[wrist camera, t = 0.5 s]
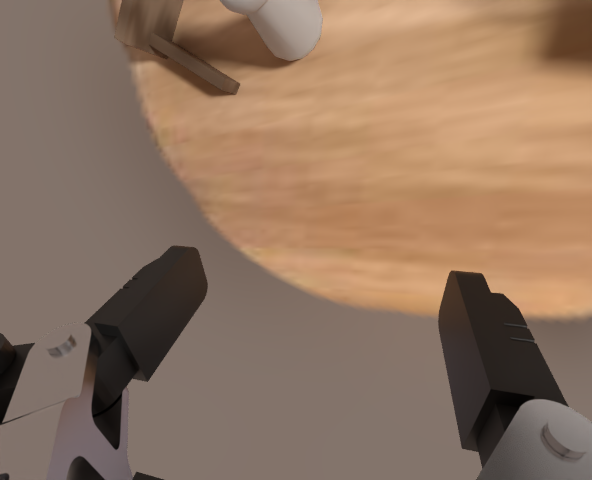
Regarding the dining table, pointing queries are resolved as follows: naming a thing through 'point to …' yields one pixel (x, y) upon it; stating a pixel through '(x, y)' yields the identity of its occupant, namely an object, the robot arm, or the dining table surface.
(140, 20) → the walnut bay
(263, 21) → the salt shaker
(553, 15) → the dining table surface
